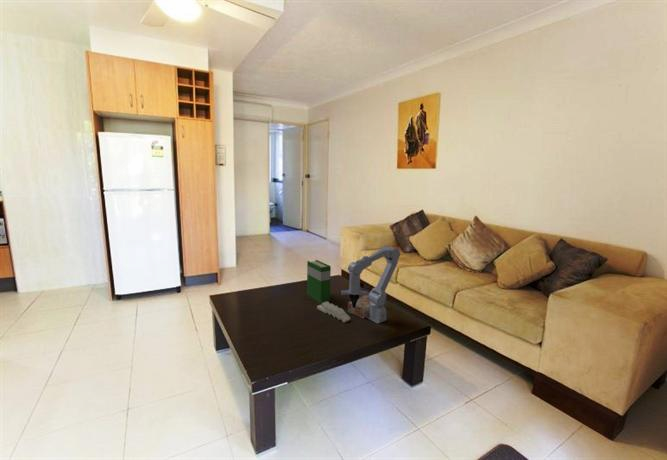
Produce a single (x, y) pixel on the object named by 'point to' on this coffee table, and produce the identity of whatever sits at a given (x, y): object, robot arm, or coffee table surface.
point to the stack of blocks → (360, 307)
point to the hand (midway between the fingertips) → (353, 307)
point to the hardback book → (318, 281)
